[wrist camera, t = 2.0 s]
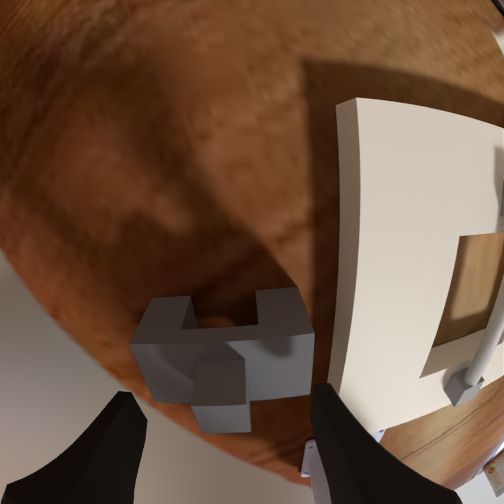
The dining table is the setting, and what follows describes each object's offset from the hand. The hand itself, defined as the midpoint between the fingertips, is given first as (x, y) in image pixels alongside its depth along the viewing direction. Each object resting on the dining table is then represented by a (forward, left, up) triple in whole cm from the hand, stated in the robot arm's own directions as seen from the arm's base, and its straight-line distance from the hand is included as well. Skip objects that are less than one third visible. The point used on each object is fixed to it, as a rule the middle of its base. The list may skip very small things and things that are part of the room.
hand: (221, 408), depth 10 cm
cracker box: (-103, -100, -6) cm, 144 cm away
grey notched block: (0, 0, -6) cm, 6 cm away
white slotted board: (0, -17, -6) cm, 18 cm away
